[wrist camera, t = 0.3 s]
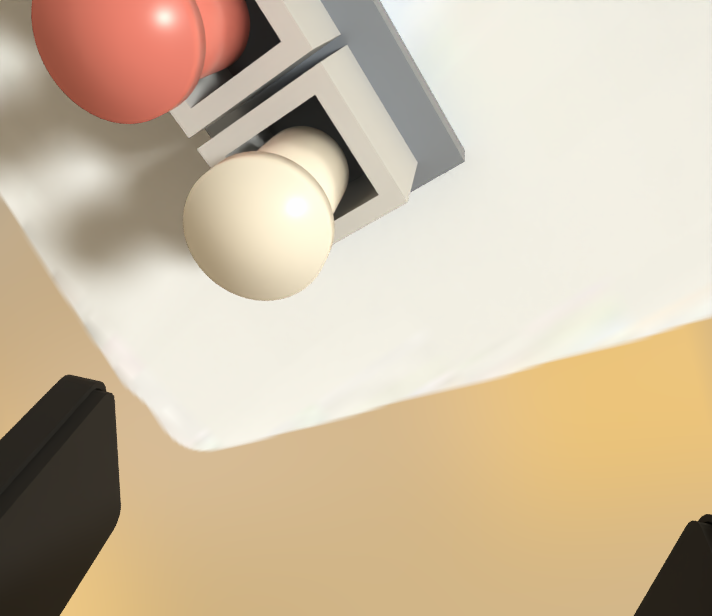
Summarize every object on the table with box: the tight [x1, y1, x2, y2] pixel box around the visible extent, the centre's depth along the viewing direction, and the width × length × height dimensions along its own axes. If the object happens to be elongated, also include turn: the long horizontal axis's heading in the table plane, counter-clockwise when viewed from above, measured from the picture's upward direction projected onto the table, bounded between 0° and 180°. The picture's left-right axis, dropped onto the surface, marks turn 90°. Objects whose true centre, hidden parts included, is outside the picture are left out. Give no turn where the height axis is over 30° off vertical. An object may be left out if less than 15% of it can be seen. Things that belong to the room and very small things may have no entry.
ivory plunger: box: [183, 126, 349, 301], centre depth 27 cm, size 6×6×8 cm
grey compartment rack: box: [169, 0, 465, 245], centre depth 32 cm, size 12×26×10 cm, turn 33°
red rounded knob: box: [31, 0, 250, 124], centre depth 24 cm, size 6×6×8 cm
